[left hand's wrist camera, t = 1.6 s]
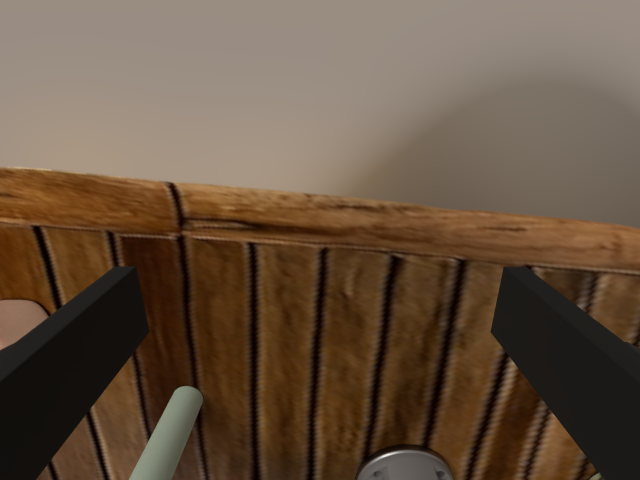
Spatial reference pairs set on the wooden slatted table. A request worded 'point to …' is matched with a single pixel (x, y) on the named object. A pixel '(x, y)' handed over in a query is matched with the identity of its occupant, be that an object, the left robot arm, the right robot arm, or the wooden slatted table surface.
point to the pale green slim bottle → (169, 436)
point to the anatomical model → (18, 319)
